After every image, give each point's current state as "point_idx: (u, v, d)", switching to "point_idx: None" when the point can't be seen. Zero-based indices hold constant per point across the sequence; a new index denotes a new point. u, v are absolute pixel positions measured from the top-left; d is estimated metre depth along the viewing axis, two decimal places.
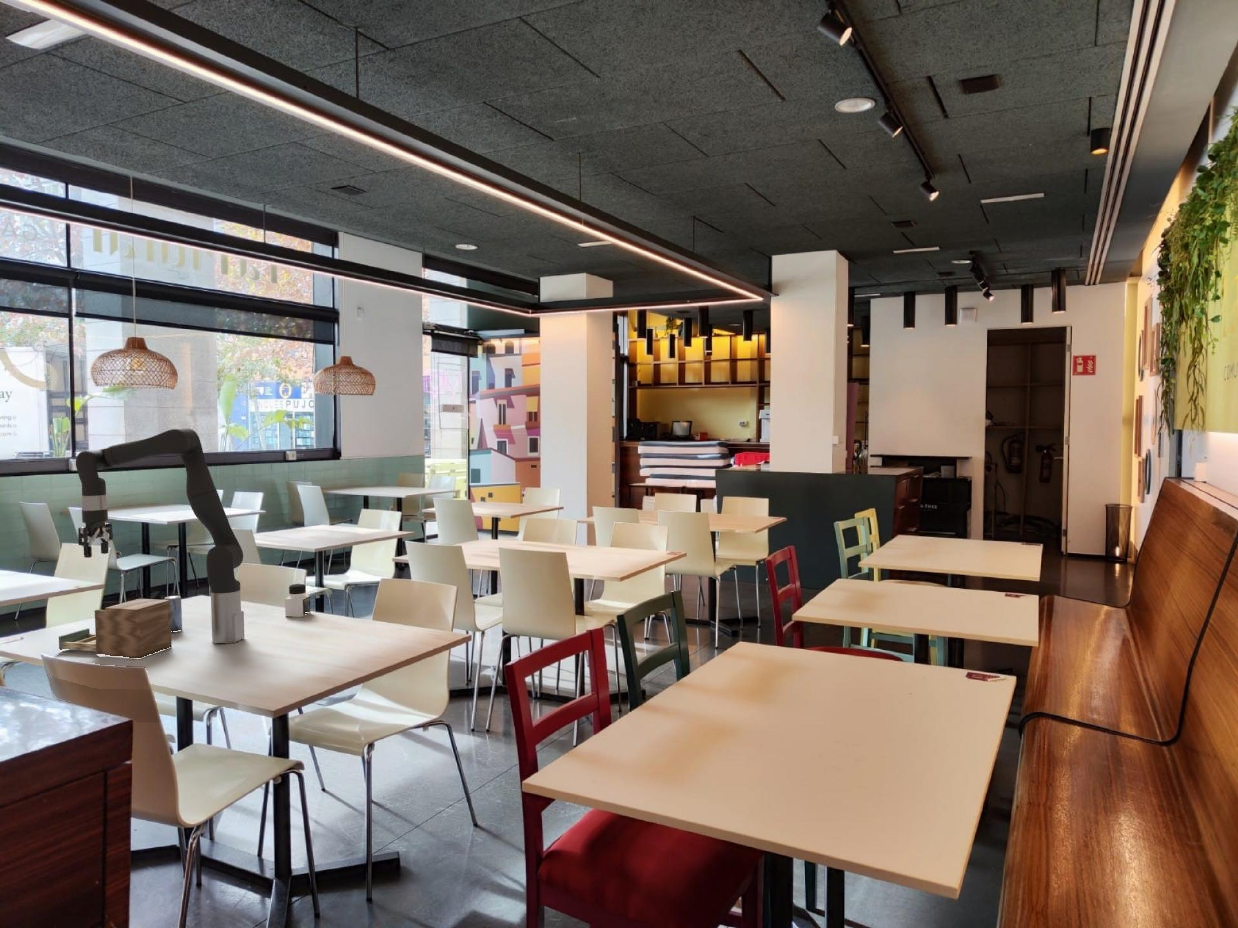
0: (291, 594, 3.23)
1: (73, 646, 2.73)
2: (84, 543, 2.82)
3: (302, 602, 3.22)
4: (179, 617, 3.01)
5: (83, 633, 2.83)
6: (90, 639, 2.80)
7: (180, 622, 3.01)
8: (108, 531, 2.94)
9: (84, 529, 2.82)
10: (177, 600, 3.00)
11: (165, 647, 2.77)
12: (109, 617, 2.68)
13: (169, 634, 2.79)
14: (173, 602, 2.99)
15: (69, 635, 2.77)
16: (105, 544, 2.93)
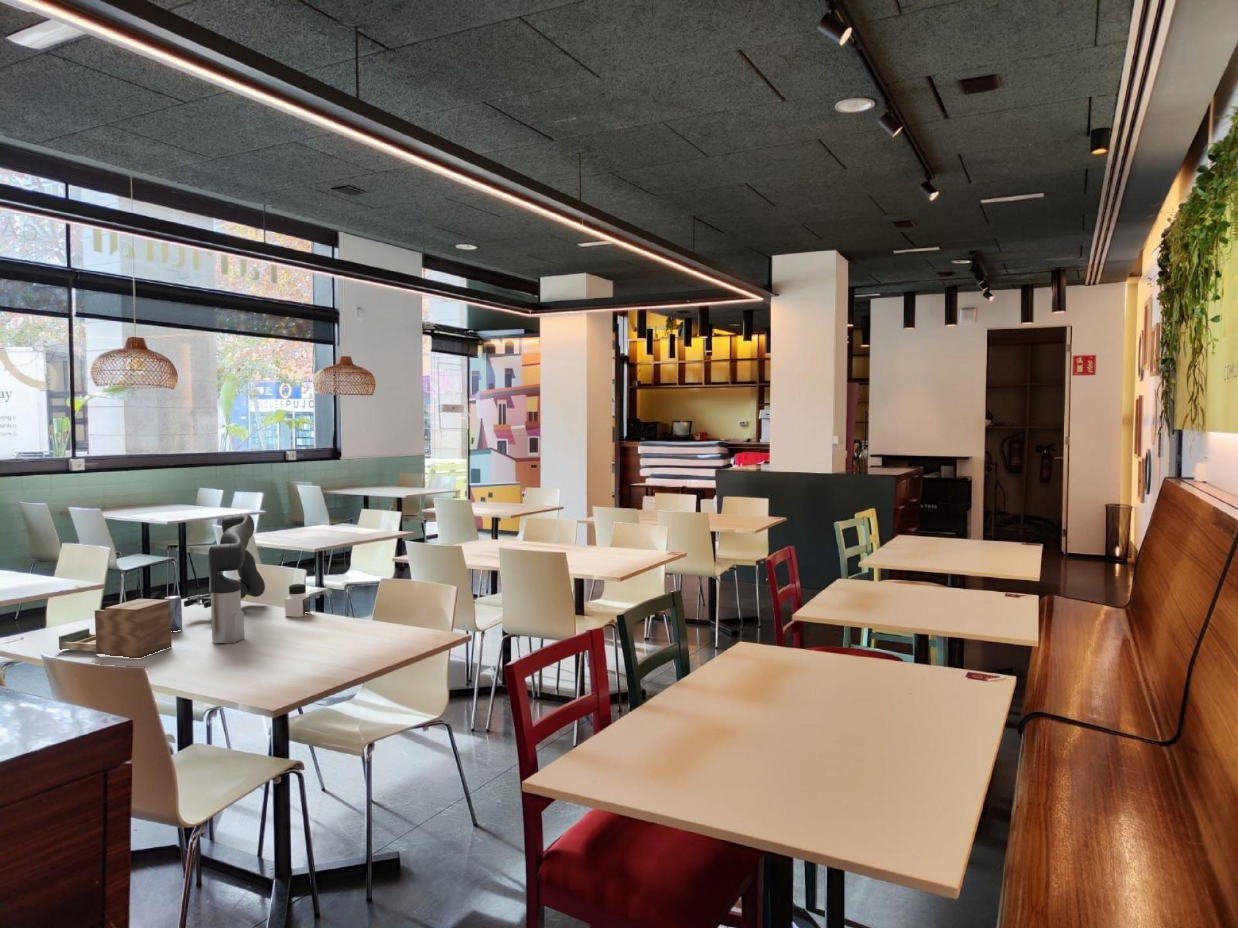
0: (291, 594, 3.23)
1: (73, 646, 2.73)
2: None
3: (302, 602, 3.22)
4: (179, 617, 3.01)
5: (83, 633, 2.83)
6: (90, 639, 2.80)
7: (180, 622, 3.01)
8: None
9: None
10: (177, 600, 3.00)
11: (165, 647, 2.77)
12: (109, 617, 2.68)
13: (169, 634, 2.79)
14: (173, 602, 2.99)
15: (69, 635, 2.77)
16: None
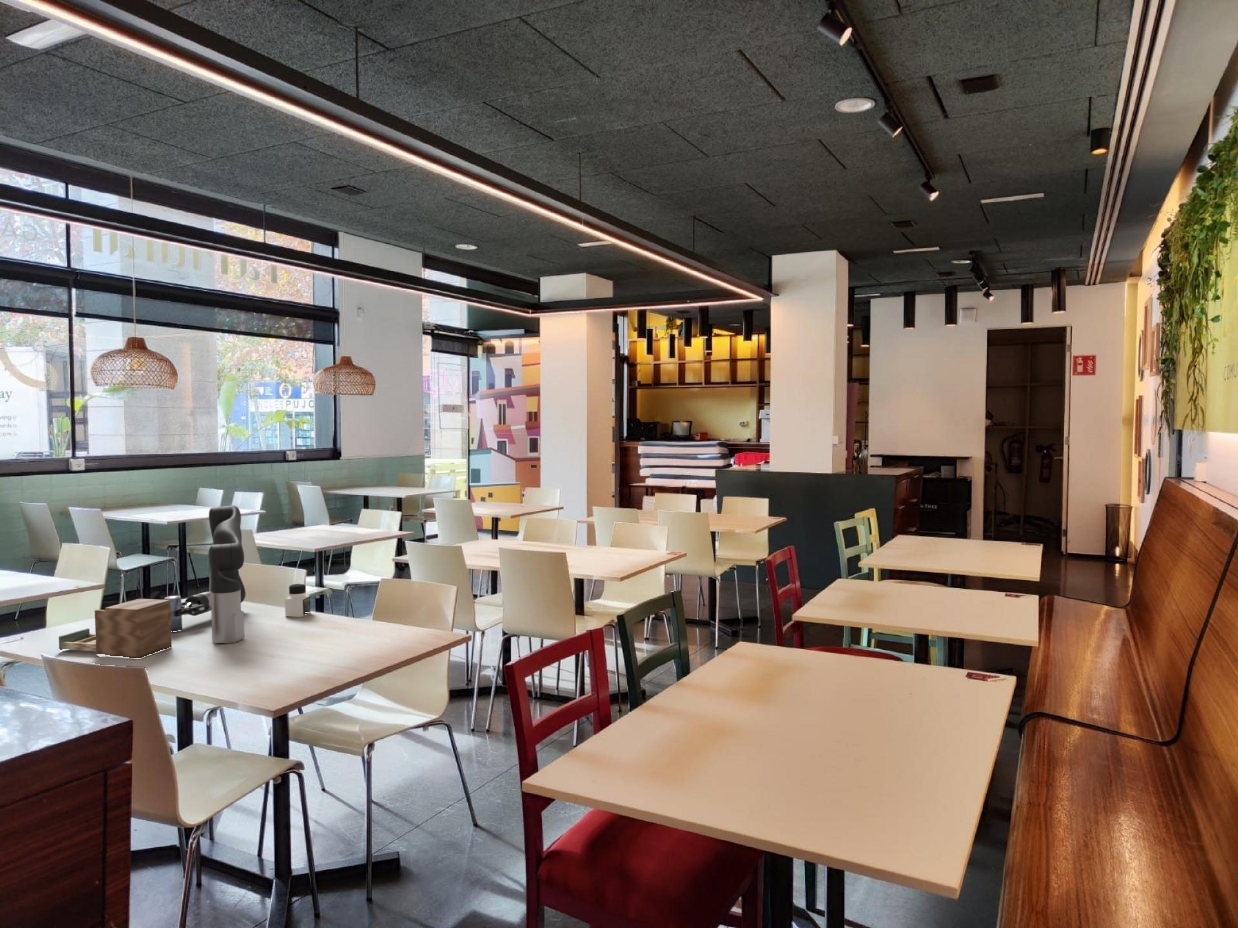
0: (291, 594, 3.23)
1: (73, 646, 2.73)
2: None
3: (302, 602, 3.22)
4: (179, 617, 3.01)
5: (83, 633, 2.83)
6: (90, 639, 2.80)
7: (180, 622, 3.01)
8: None
9: None
10: (177, 600, 3.00)
11: (165, 647, 2.77)
12: (109, 617, 2.68)
13: (169, 634, 2.79)
14: (173, 602, 2.99)
15: (69, 635, 2.77)
16: None
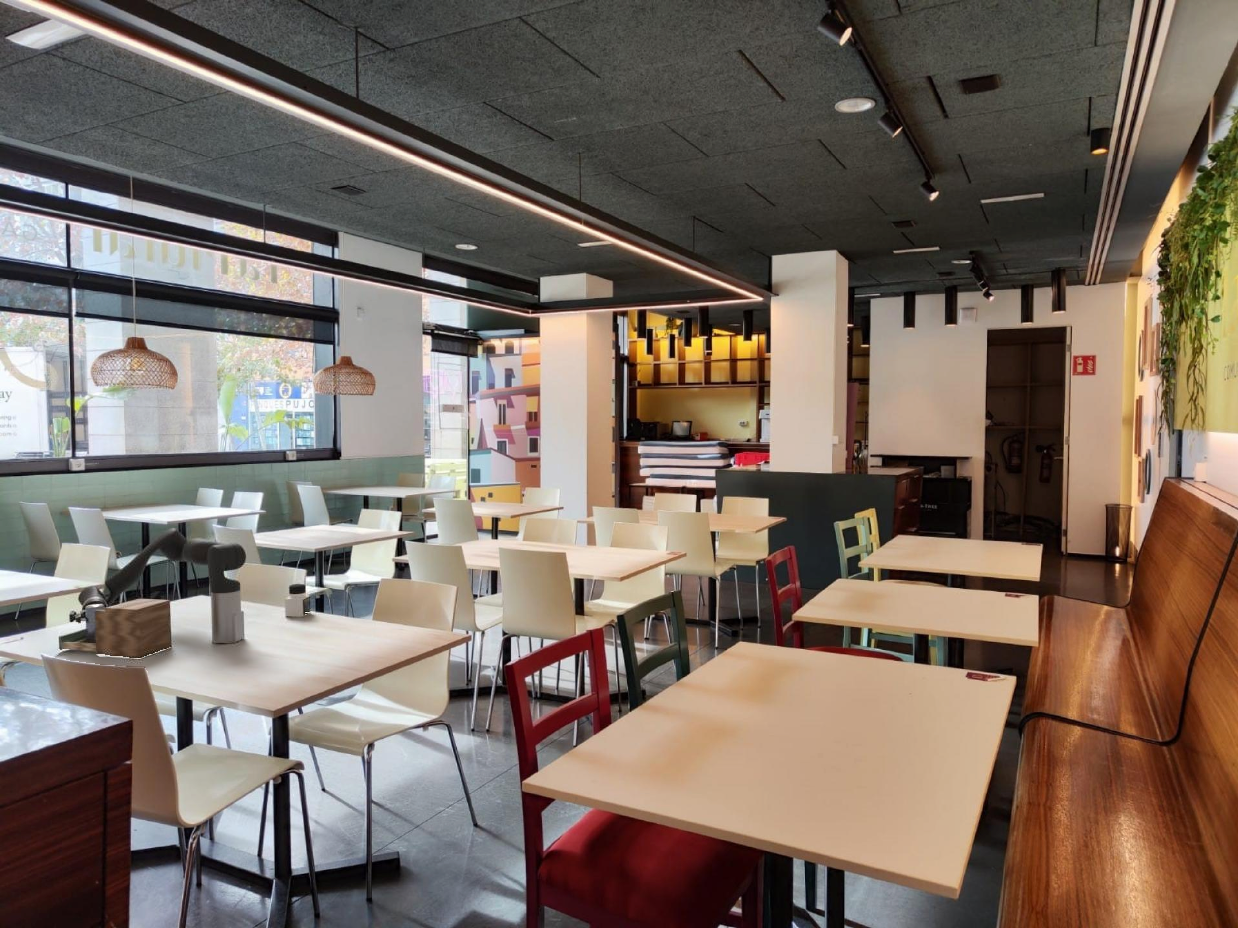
0: (291, 594, 3.23)
1: (73, 646, 2.73)
2: (69, 615, 2.76)
3: (302, 602, 3.22)
4: None
5: (83, 633, 2.83)
6: None
7: None
8: None
9: (70, 612, 2.80)
10: (104, 607, 2.78)
11: (165, 647, 2.77)
12: (109, 617, 2.68)
13: (169, 634, 2.79)
14: None
15: (69, 635, 2.77)
16: None
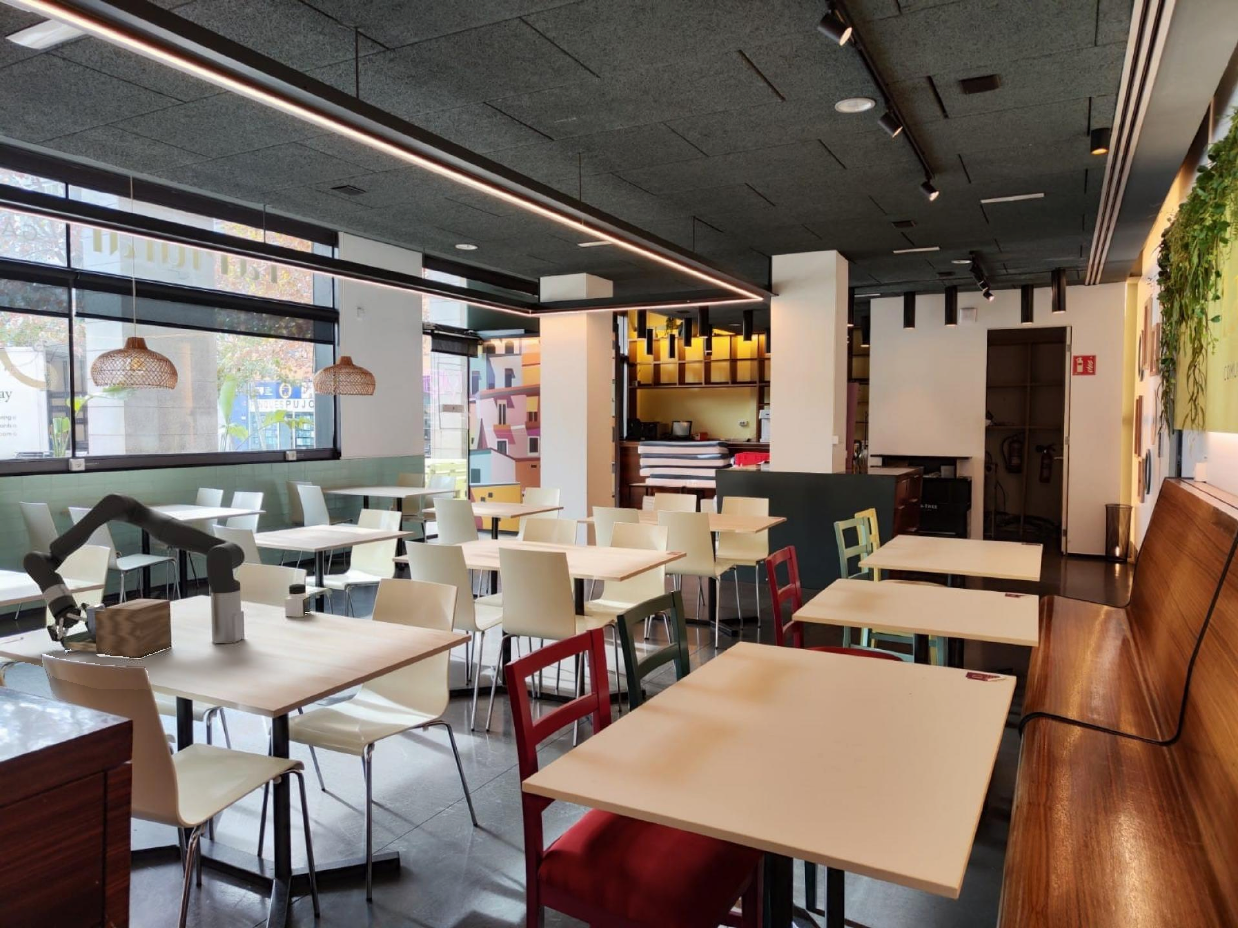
0: (291, 594, 3.23)
1: (78, 646, 2.73)
2: None
3: (302, 602, 3.22)
4: None
5: (88, 633, 2.82)
6: None
7: None
8: None
9: None
10: (104, 607, 2.77)
11: (165, 647, 2.77)
12: (109, 617, 2.68)
13: (169, 634, 2.79)
14: (102, 609, 2.75)
15: (74, 635, 2.77)
16: None
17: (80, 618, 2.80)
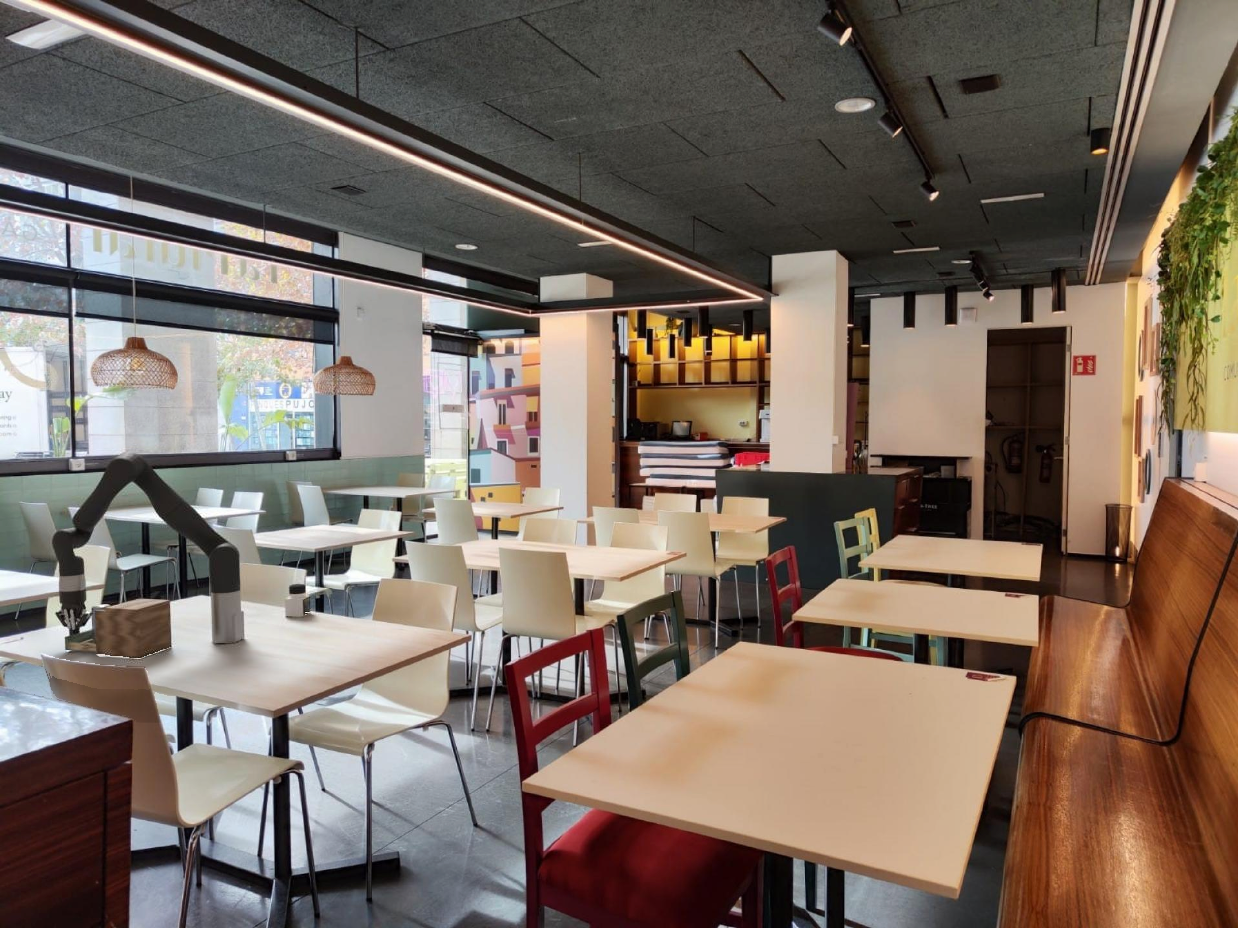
0: (291, 594, 3.23)
1: (79, 646, 2.73)
2: None
3: (302, 602, 3.22)
4: None
5: (89, 633, 2.82)
6: None
7: None
8: None
9: None
10: None
11: (165, 647, 2.77)
12: (109, 617, 2.68)
13: (169, 634, 2.79)
14: None
15: (75, 635, 2.77)
16: None
17: (72, 622, 2.78)
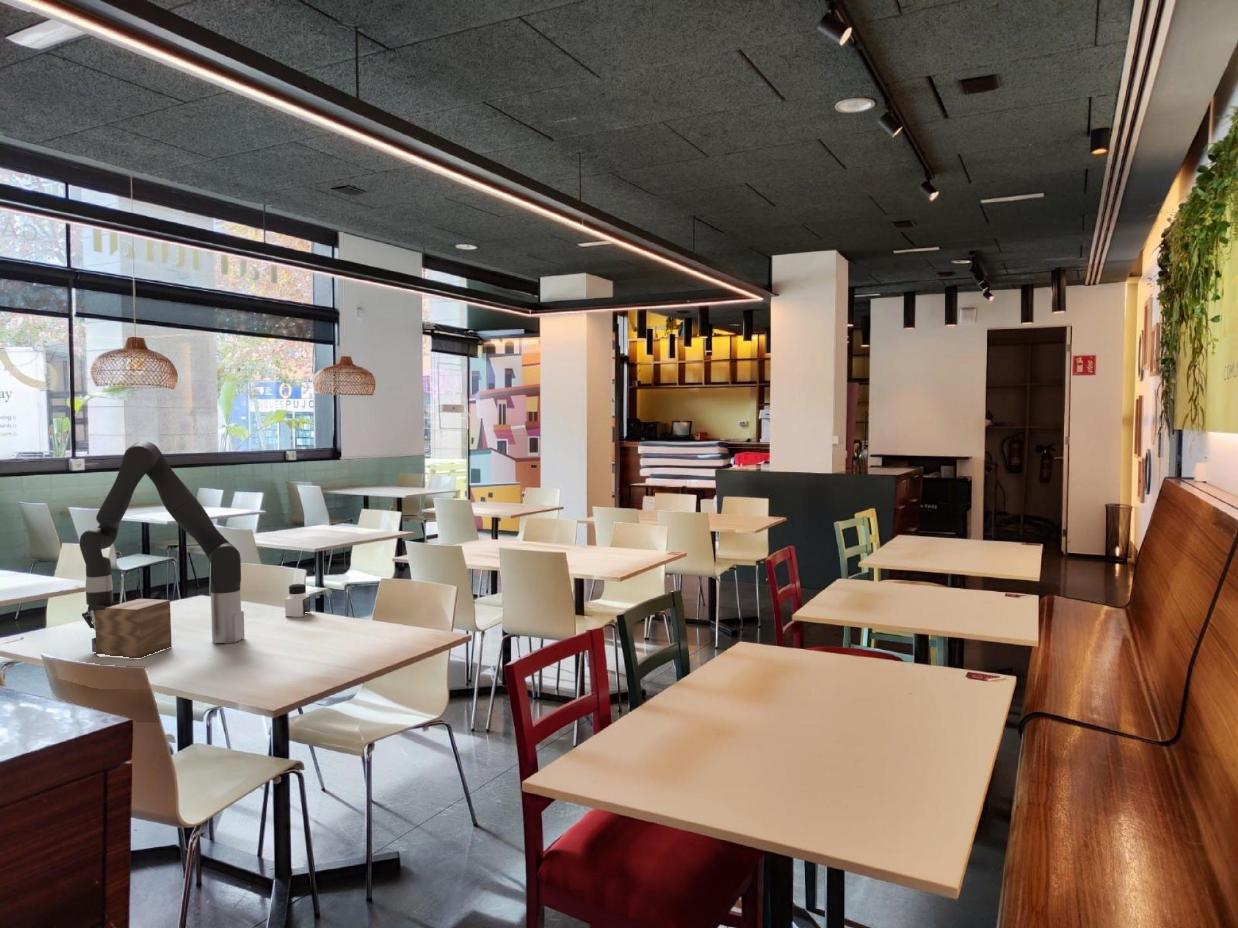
0: (291, 594, 3.23)
1: None
2: None
3: (302, 602, 3.22)
4: None
5: None
6: None
7: None
8: None
9: None
10: None
11: (165, 647, 2.77)
12: (109, 617, 2.68)
13: (169, 634, 2.79)
14: None
15: None
16: None
17: None
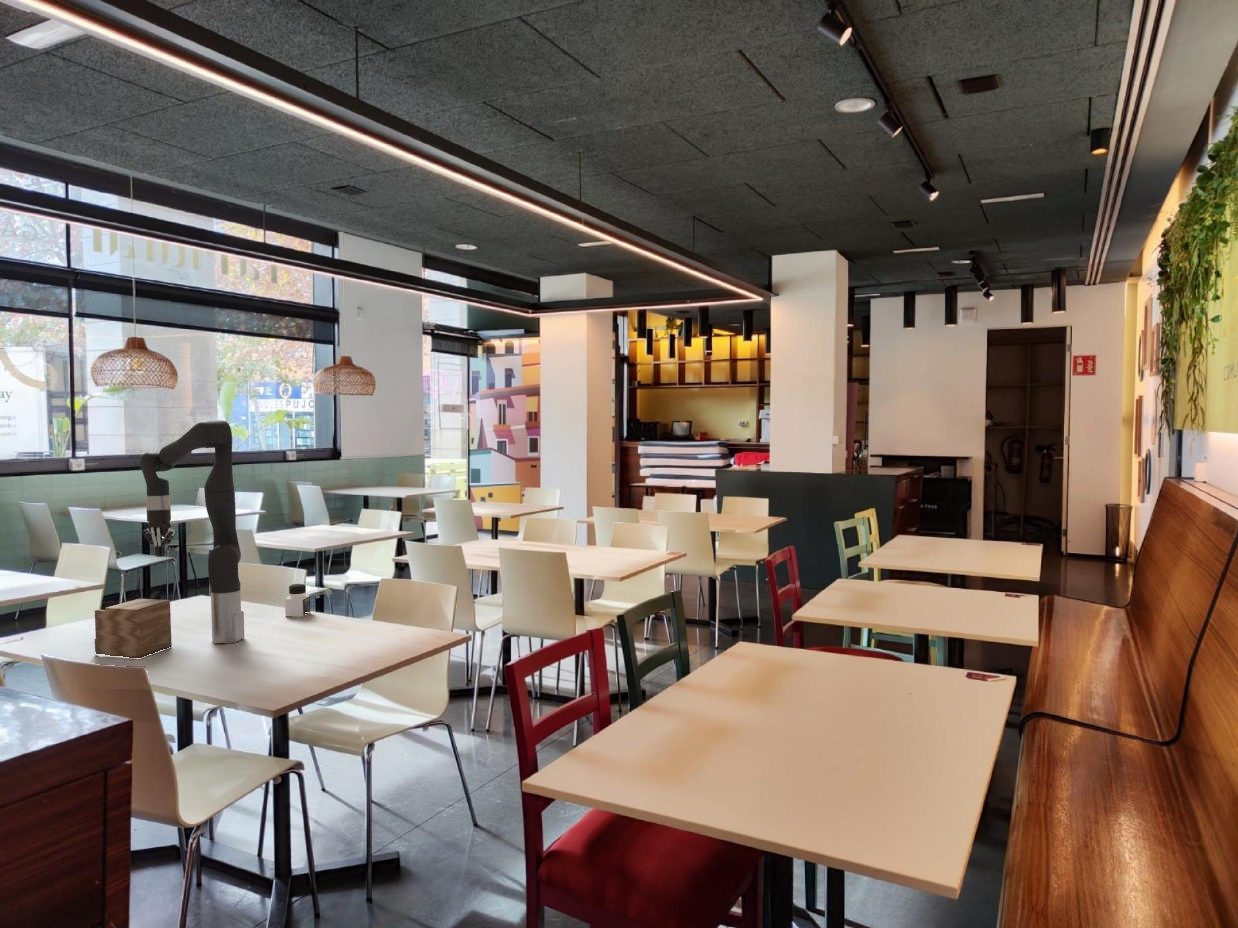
0: (291, 594, 3.23)
1: None
2: None
3: (302, 602, 3.22)
4: None
5: None
6: None
7: None
8: None
9: None
10: None
11: (165, 647, 2.77)
12: (109, 617, 2.68)
13: (169, 634, 2.79)
14: None
15: None
16: None
17: (159, 540, 2.99)
